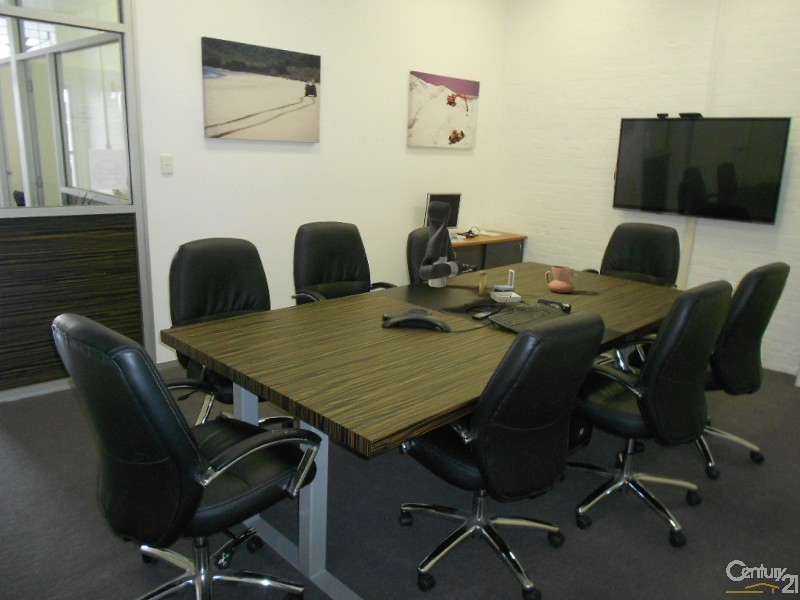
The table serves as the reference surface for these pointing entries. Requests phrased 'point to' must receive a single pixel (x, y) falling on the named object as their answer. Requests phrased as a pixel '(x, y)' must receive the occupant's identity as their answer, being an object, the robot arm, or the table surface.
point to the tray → (505, 296)
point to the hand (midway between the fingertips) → (471, 266)
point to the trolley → (506, 287)
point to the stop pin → (482, 283)
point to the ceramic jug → (561, 279)
